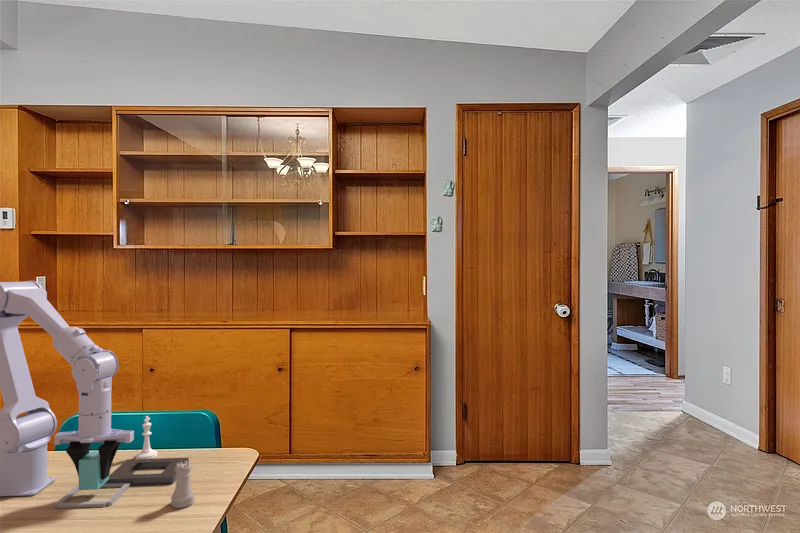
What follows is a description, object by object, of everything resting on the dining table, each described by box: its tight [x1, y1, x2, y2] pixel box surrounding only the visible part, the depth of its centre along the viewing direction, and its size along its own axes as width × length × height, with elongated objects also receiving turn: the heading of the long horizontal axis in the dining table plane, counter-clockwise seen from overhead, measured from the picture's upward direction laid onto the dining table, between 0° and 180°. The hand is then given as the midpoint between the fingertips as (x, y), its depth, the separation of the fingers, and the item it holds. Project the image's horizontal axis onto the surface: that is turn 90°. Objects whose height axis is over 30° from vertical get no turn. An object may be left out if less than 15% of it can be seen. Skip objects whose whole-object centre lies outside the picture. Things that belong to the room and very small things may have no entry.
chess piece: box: [135, 415, 158, 459], centre depth 123 cm, size 5×5×10 cm
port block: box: [106, 457, 190, 486], centre depth 112 cm, size 14×11×2 cm
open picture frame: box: [53, 483, 132, 509], centre depth 101 cm, size 11×10×1 cm
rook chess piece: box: [170, 461, 195, 509], centre depth 99 cm, size 4×4×8 cm
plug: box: [78, 450, 109, 491], centre depth 102 cm, size 4×5×6 cm
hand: (94, 477), depth 102 cm, fingers closed on plug, 4 cm apart
